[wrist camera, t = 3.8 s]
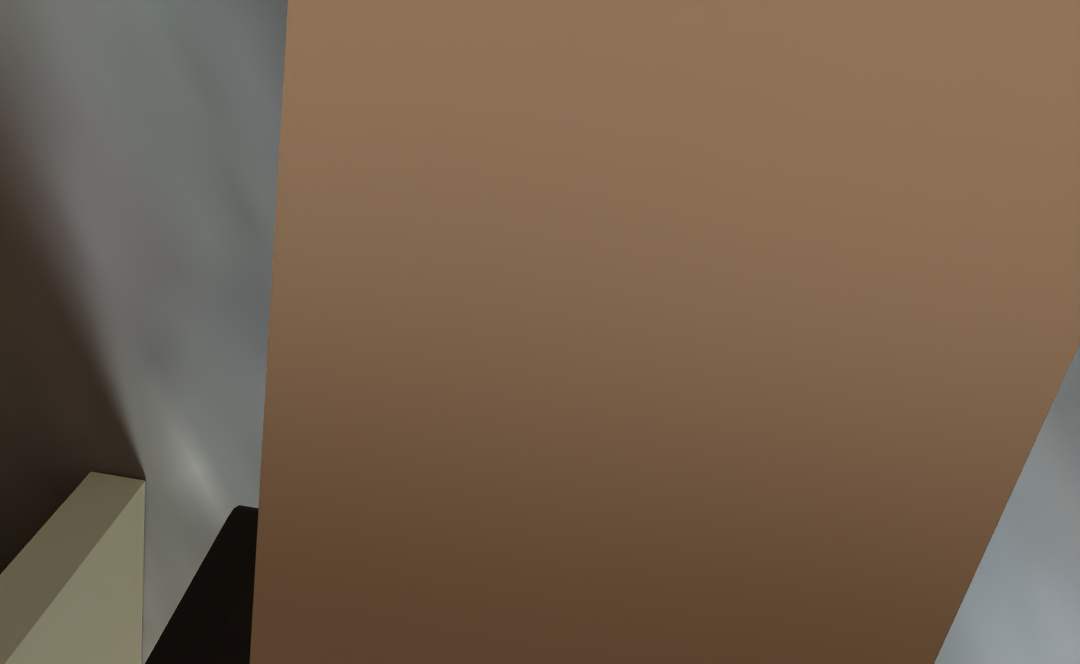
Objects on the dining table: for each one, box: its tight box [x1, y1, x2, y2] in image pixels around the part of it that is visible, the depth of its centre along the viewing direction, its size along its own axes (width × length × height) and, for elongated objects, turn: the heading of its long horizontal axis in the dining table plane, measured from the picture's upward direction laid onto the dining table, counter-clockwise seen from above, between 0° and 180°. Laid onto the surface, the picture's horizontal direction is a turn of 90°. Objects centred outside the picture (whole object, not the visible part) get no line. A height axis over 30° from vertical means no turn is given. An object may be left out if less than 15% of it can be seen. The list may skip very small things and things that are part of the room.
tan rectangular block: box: [250, 0, 1080, 664], centre depth 8 cm, size 14×4×6 cm, turn 170°
